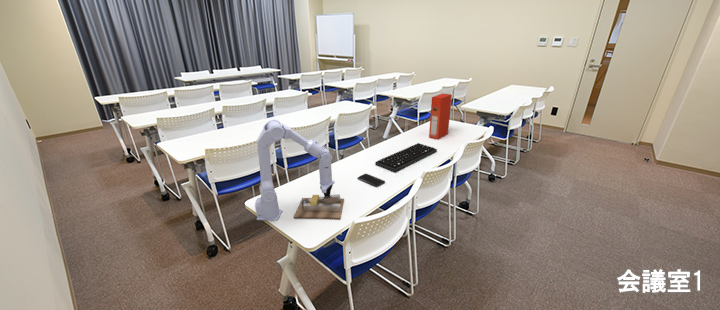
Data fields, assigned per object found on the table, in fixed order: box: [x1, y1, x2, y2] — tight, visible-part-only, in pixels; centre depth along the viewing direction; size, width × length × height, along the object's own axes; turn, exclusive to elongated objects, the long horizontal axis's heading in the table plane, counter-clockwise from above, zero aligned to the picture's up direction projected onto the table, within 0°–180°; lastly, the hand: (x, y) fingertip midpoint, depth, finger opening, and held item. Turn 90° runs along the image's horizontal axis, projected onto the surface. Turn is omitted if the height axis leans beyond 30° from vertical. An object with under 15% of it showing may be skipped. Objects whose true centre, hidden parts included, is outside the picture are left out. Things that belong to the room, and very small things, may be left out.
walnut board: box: [293, 197, 345, 221], centre depth 136 cm, size 21×16×1 cm
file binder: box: [428, 93, 453, 140], centre depth 223 cm, size 8×17×32 cm, turn 139°
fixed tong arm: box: [301, 199, 341, 212], centre depth 134 cm, size 18×4×4 cm, turn 87°
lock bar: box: [310, 194, 320, 206], centre depth 133 cm, size 3×6×2 cm, turn 177°
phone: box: [357, 173, 386, 188], centre depth 162 cm, size 8×1×15 cm
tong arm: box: [309, 194, 341, 204], centre depth 138 cm, size 15×2×3 cm, turn 105°
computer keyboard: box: [374, 142, 438, 174], centre depth 189 cm, size 45×16×4 cm, turn 134°
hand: (327, 198), depth 141 cm, fingers closed, pressing on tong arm
